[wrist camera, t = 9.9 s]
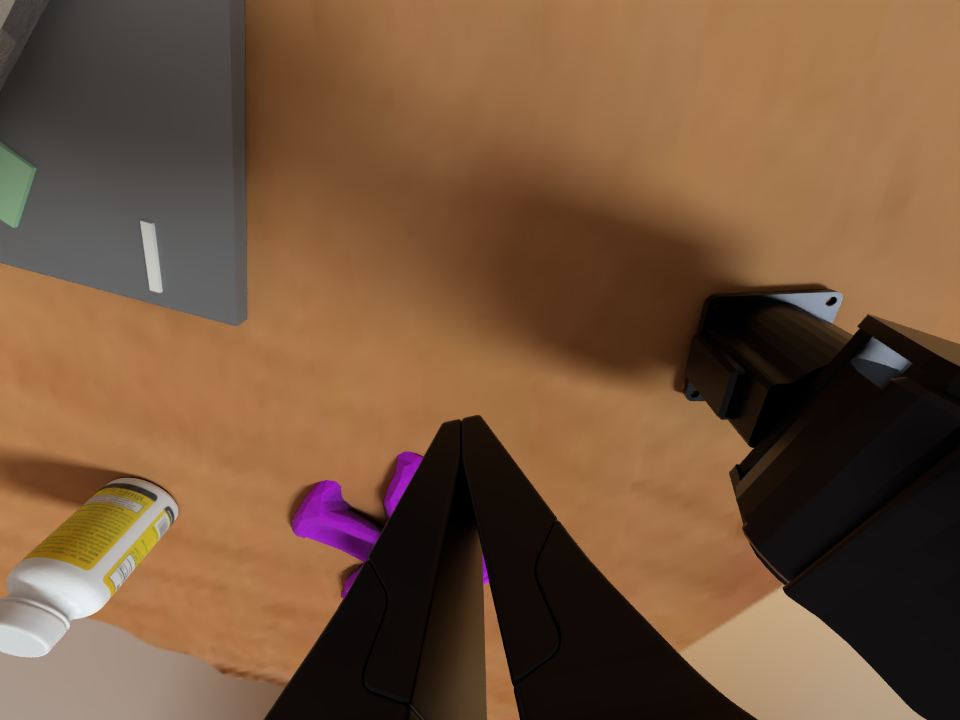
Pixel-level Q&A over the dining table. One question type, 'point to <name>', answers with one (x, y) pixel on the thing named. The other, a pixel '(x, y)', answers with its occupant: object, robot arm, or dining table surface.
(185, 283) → the plate
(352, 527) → the cloth
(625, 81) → the dining table surface
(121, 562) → the supplement bottle
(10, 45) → the frosted block on spoon
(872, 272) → the dining table surface
